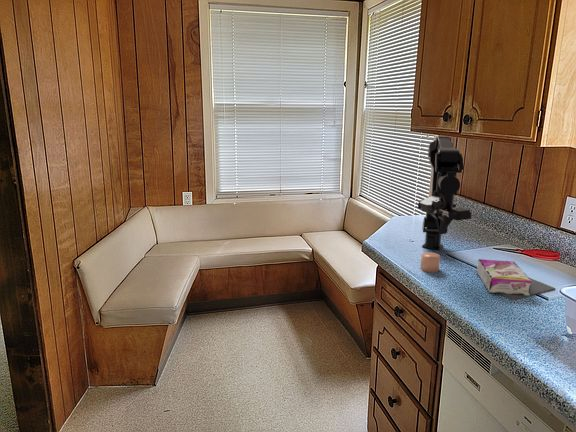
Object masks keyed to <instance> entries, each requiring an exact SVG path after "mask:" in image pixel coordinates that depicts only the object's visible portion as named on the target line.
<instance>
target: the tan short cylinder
mask: <svg viewBox="0 0 576 432" xmlns="http://www.w3.org/2000/svg"><path fill="white" fill-rule="evenodd" d="M440 260H441V254H438V253H435V252H429V251H428V252H426V251H425V252H422V253H421V256H420V270H421V271H423V272H426V273H437V272H439V270H440V263H441V261H440Z"/></svg>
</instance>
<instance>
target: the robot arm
mask: <svg viewBox="0 0 576 432" xmlns="http://www.w3.org/2000/svg"><path fill="white" fill-rule="evenodd" d="M428 145H429V146H428V148H427V149H428V150H427V157H428V158H429V164H430V166H431V167H432V178H431V179H432V180H431V195H430V196H428V197H426V198H425V199H420V200H419V201H418V203H417V208H418V209H419V210H421V212H425V216H424V217H423V221H422V229H421V230H422V232H423V233H425V238H424V239H425V242H424V243H423V244H422V246H421V247H422V248H426V249H432V250H437V251H439V250H440V249H441V248H443V246H444V244H443V243H441V241H442V235H446V234H447V233H448V228H449V226H450V224H451V223H452V221H463V220H465V221H466V220H471V219H472V211H471V210H470V209H468V208H463V207H457V204H456V203H454V199H455V196H458V191H459V190H460V188H461V182H460V180H459V178H458V177H457V174H461V173H463V170H464V157H463V154H462V153H460V150H459V149H458V148H454V143H453V142H452V137H451V136H445V135H444V136H440V135H439V136H436V137H435V139H434V140H433V141H432V142H430V143H429V144H428ZM456 207H457V208H456Z"/></svg>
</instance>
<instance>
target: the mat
mask: <svg viewBox="0 0 576 432" xmlns="http://www.w3.org/2000/svg"><path fill="white" fill-rule="evenodd" d="M528 278H529V279H530V280H531V281H532V282H531V287H530V294H529V296H527V295H515V294H504V293H497V294H498V295H500V296H503V297H505V298H507V299H510V300H512V301H515V300H519V299H524V298H527V297H531V296H535V295H539V294H543V293H546V291H547V292H550V291H555V290H556V287H553V286H551V285H548V284H546V283H543V282H541V281H538V280H536V279H534V278H531V277H529V276H528ZM483 287H484V288H486V286H485V285H484V286H483ZM542 292H543V293H542Z"/></svg>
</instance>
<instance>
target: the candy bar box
mask: <svg viewBox="0 0 576 432" xmlns="http://www.w3.org/2000/svg"><path fill="white" fill-rule="evenodd" d="M477 260H478V261H477V269H476V273H477V275H478V276H479V278H480V280H481V281H482V283H483V284H484V286H486V287H485V288H486V289H487V291H488V293H495V294H498V293H504V294H515V295H527V297H530V296H529V294H530V287H531V282H532V281H531V280H530V279H529V278H530V277H529V276H528V275H527V274H526V273H525V272H524V271H523V270H522V268H521V267H520V266H518V264H517V263H516V262H515V261H512V260H511V261H509V260H496V259H495V260H494V259H483V258H482V259H481V258H479V259H477ZM528 277H529V278H528Z"/></svg>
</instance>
